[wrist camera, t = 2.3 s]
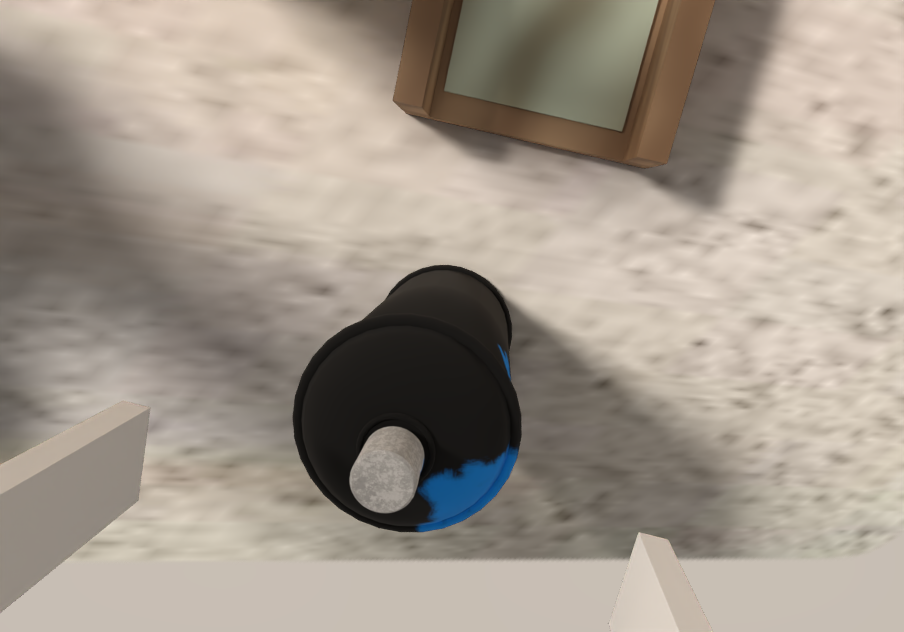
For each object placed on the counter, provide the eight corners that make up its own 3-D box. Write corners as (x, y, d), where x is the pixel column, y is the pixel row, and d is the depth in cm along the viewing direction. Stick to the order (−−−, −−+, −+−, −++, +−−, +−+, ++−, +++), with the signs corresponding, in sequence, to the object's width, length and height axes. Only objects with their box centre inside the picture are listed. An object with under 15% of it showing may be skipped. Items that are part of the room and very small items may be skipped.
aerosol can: (352, 341, 37) (189, 500, 17) (431, 236, 35) (348, 282, 16) (457, 420, 37) (412, 660, 18) (539, 319, 36) (589, 464, 16)
